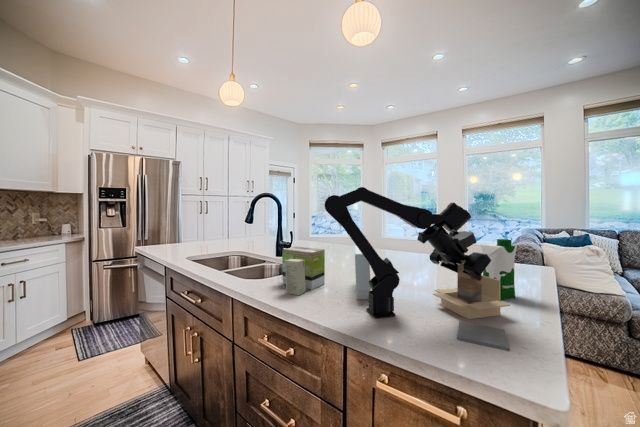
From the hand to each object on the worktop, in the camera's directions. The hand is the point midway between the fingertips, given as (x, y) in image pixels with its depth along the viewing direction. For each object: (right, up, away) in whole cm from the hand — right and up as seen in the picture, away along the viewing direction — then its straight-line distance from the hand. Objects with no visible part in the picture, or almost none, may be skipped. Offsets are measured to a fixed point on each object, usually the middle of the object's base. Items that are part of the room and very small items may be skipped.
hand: (473, 277), depth 80 cm
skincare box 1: (-56, -10, +18) cm, 59 cm away
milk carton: (+16, -10, +13) cm, 23 cm away
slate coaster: (-7, -10, -16) cm, 21 cm away
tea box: (-53, -10, +29) cm, 61 cm away
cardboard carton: (-3, -10, -1) cm, 10 cm away
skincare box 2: (-30, -10, +20) cm, 38 cm away
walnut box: (-1, -7, 0) cm, 7 cm away
